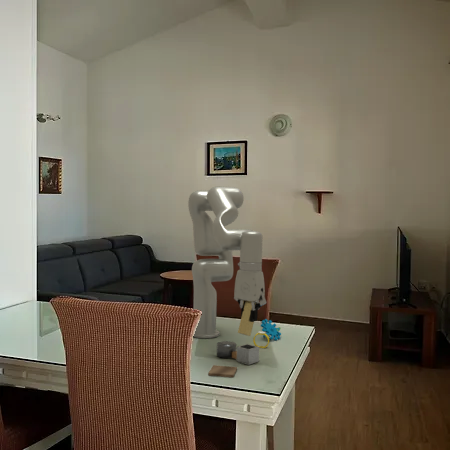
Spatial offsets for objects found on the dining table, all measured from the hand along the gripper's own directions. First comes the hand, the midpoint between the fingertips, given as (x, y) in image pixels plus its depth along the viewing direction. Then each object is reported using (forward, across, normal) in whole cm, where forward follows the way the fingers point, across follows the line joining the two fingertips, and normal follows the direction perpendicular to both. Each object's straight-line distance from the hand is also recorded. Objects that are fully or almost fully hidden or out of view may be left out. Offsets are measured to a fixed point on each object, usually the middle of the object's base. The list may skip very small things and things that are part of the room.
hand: (249, 319), depth 167 cm
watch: (+15, -7, +17) cm, 24 cm away
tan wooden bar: (+5, 0, -3) cm, 5 cm away
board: (+14, +1, -15) cm, 21 cm away
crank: (+14, -5, 0) cm, 15 cm away
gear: (+15, -12, +31) cm, 36 cm away
